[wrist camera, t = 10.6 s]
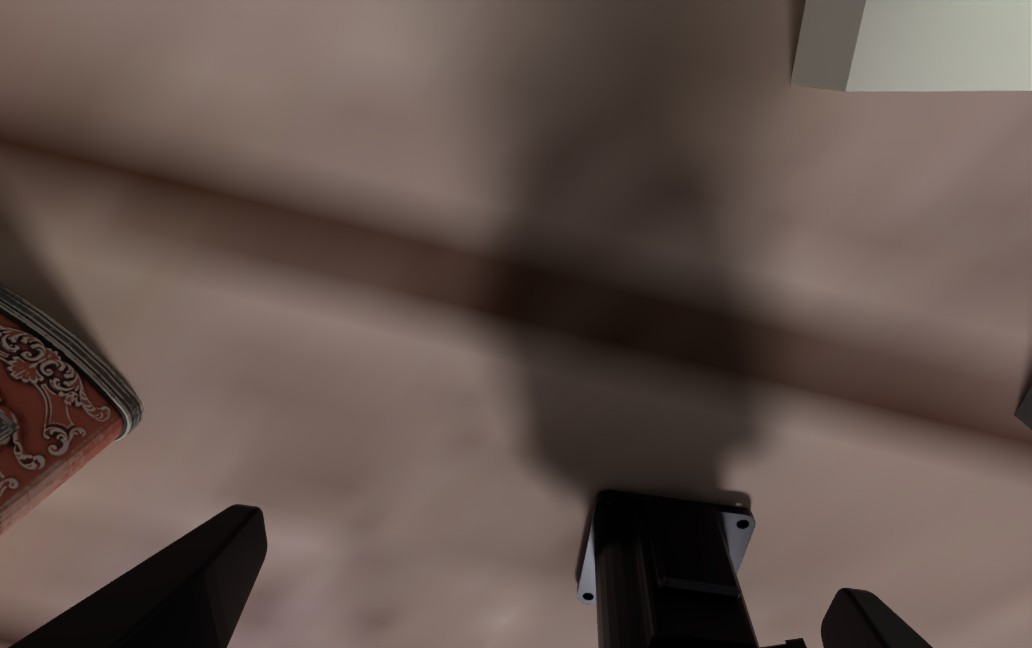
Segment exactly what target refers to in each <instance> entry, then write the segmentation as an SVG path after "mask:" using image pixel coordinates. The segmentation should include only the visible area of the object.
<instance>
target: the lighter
mask: <svg viewBox="0 0 1032 648" xmlns="http://www.w3.org/2000/svg"><path fill="white" fill-rule="evenodd" d="M143 414H144V410H143V407H142V403H141V402H140V400H139V399H138V397H137V396H136V395H135V394H134V393H133V391H132V390H131V389H130V388H129V387H128V386H127V385H126V384H125V383H124V382H123V381H122V380H121V379H120V377H119V376H118V375H117V374H116V373H115V372H114V371H113V370H112V369H111V368H110V367H109V366H108V365H107V364H106V363H105V362H104V361H103V360H102V359H100V358H99V357H98V356H97V355H96V354H95V353H94V352H93V351H92V350H91V349H89V348H88V347H87V346H86V345H85V344H84V343H83V342H82V341H81V340H80V339H79V338H77V337H76V336H75V335H73V334H72V333H71V332H69V331H68V330H67V329H65V328H64V327H63V326H61V325H60V324H59V323H57V322H56V321H55V320H54V319H52V318H51V317H50V316H48V315H47V314H46V313H44V312H43V311H42V310H40V309H38V308H37V307H35V306H34V305H32V304H31V303H29V302H28V301H26V300H24V299H23V298H21V297H20V296H18V295H17V294H15V293H14V292H12V291H10V290H9V289H7V288H6V287H4V286H2V285H0V536H1V535H2V534H3V533H4V532H6V531H7V530H8V529H9V528H10V527H11V526H13V525H14V524H15V523H16V522H17V521H19V520H20V519H21V518H22V517H23V516H25V515H26V514H27V513H28V512H29V511H31V510H32V509H33V508H34V507H35V506H36V505H38V504H39V503H40V502H41V501H42V500H44V499H45V498H46V497H47V496H48V495H50V494H51V493H52V492H53V491H54V490H55V489H57V488H58V487H59V486H60V485H61V484H63V483H64V482H65V481H66V480H67V479H69V478H70V477H71V476H72V475H73V474H75V473H76V472H77V471H78V470H79V469H80V468H82V467H83V466H84V465H85V464H86V463H88V462H89V461H90V460H91V459H92V458H94V457H95V456H96V455H97V454H98V453H99V452H101V451H102V450H103V449H104V448H105V447H107V446H108V445H109V444H110V443H111V442H117V441H119V440H121V439H122V438H124V437H125V436H126V435H128V434H129V433H130V432H131V431H132V430H133V429H135V428H136V427H137V426H138V425H139V424H140V422H141V421H142V419H143Z"/></svg>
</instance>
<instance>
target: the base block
mask: <svg viewBox="0 0 1032 648" xmlns="http://www.w3.org/2000/svg"><path fill="white" fill-rule="evenodd" d="M790 85H797V86H805V87H813V88H821V89H829V90H837V91H845V92H866V91H1032V0H806V3H805V8H804V14H803V19H802V24H801V30H800V35H799V40H798V45H797V51H796V56H795V61H794V67H793V72H792V77H791V83H790Z"/></svg>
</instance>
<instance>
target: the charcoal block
mask: <svg viewBox="0 0 1032 648" xmlns="http://www.w3.org/2000/svg"><path fill="white" fill-rule="evenodd" d="M1014 416H1016V417H1017V418H1018V419H1019V420H1021V421H1022V422H1023V423H1024V424H1025V425H1027V426H1028V427H1029V428H1030V429H1032V386H1031V388H1030V389H1029V391H1028V393H1027V394H1026V396H1025V398H1024V400H1023V401H1022V403H1021V405H1020V406H1019V408H1018V410H1017V411H1016V413H1015V415H1014Z"/></svg>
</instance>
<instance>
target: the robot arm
mask: <svg viewBox="0 0 1032 648" xmlns="http://www.w3.org/2000/svg"><path fill="white" fill-rule="evenodd" d="M607 501H610V502H612V503H610V504H606V503H604V502H607ZM740 520H744V521H740ZM738 521H740V522H738ZM755 523H756V522H755V520H754V517H753V515H752V513H751V511H749V510H748V509H745V508H740V507H733V506H725V505H718V504H710V503H703V502H695V501H688V500H680V499H673V498H665V497H658V496H650V495H643V494H635V493H628V492H621V491H613V490H604V491H601V492H599V493H598V494H597V496H596V498H595V503H594V508H593V513H592V518H591V522H590V527H589V532H588V537H587V542H586V547H585V552H584V556H583V561H582V566H581V571H580V576H579V581H578V586H577V598H578V599H579V601H581V602H582V603H585V604H591V605H597V624H598V646H599V648H807V647H806V645H805V643H804V640H803V638H798V639H792V640H785V642H786V644H780V645H773V646H767V647H759V644H758V641H757V638H756V635H755V632H754V629H753V625H752V622H751V619H750V616H749V613H748V610H747V607H746V603H745V600H744V597H743V594H742V591H741V588H740V585H739V582H738V578H737V572H738V569H739V567H740V564H741V562H742V559H743V556H744V554H745V551H746V549H747V546H748V543H749V541H750V538H751V536H752V533H753V530H754V528H755ZM266 552H267V537H266V531H265V524H264V517H263V512H262V510H261V509H260V508H259V507H256V506H249V505H241V504H235V505H232V506H230V507H228V508H227V509H225V510H223V511H222V512H220V513H219V514H217V515H216V516H214V517H212V518H211V519H209V520H208V521H206V522H205V523H203V524H201V525H200V526H198V527H197V528H195V529H194V530H192V531H191V532H189V533H187V534H186V535H184V536H183V537H181V538H180V539H178V540H176V541H175V542H173V543H172V544H170V545H169V546H167V547H165V548H164V549H162V550H161V551H159V552H158V553H156V554H154V555H153V556H151V557H150V558H148V559H147V560H145V561H143V562H142V563H140V564H139V565H137V566H136V567H134V568H132V569H131V570H129V571H128V572H126V573H125V574H123V575H121V576H120V577H118V578H117V579H115V580H114V581H112V582H110V583H109V584H107V585H106V586H104V587H103V588H101V589H100V590H98V591H96V592H95V593H93V594H92V595H90V596H89V597H87V598H85V599H84V600H82V601H81V602H79V603H78V604H76V605H74V606H73V607H71V608H70V609H68V610H67V611H65V612H63V613H62V614H60V615H59V616H57V617H56V618H54V619H52V620H51V621H49V622H48V623H46V624H45V625H43V626H41V627H40V628H38V629H37V630H35V631H34V632H32V633H30V634H29V635H27V636H26V637H24V638H23V639H21V640H19V641H18V642H16V643H15V644H13V645H12V646H10V647H9V648H227V646H228V644H229V641H230V639H231V637H232V635H233V632H234V630H235V627H236V625H237V623H238V620H239V618H240V616H241V613H242V611H243V609H244V606H245V604H246V602H247V599H248V597H249V595H250V592H251V590H252V588H253V585H254V583H255V581H256V578H257V576H258V574H259V571H260V569H261V566H262V564H263V562H264V559H265V556H266ZM821 637H822V642H823V646H824V648H933V647H932V646H931V645H929V644H928V643H927V642H926V641H925V640H924V639H923V638H922V637H921V636H920V635H918V634H917V633H916V632H915V631H914V630H913V629H912V628H911V627H910V626H909V625H908V624H906V623H905V622H904V621H903V620H902V619H901V618H900V617H899V616H898V615H897V614H895V613H894V612H893V611H892V610H891V609H890V608H889V607H888V606H887V605H886V604H885V603H883V602H882V601H881V600H880V599H879V598H878V597H877V596H876V595H874V594H873V593H871V592H869V591H866V590H859V589H852V588H842V589H840V590H839V591H838V592H837V593H836V595H835V597H834V599H833V601H832V603H831V605H830V607H829V609H828V611H827V613H826V615H825V617H824V619H823V621H822V625H821Z"/></svg>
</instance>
